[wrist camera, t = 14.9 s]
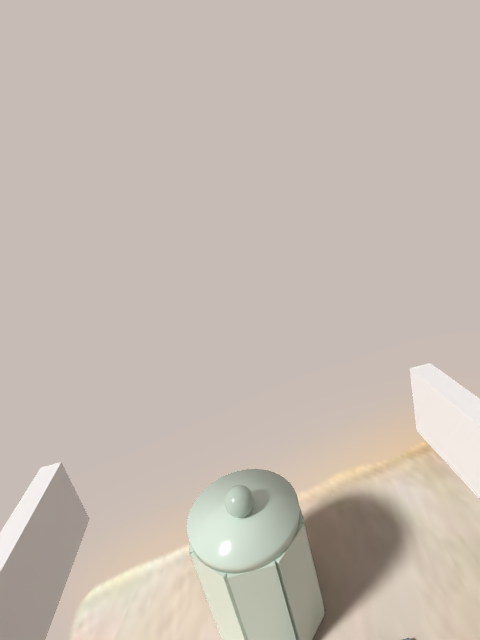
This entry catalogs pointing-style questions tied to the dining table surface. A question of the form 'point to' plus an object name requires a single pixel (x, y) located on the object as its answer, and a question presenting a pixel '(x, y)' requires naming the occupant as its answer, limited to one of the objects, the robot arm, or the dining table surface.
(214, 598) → the lidded canister jar
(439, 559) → the dining table surface
